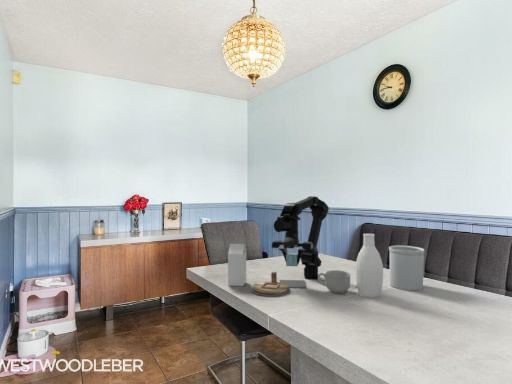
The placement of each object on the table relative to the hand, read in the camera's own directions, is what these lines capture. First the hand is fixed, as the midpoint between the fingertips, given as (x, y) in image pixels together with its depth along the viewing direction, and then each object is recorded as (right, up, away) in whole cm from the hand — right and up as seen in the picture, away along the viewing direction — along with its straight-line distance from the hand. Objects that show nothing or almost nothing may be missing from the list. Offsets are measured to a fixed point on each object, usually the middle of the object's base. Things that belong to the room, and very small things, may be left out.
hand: (292, 263), depth 152 cm
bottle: (+31, -10, -16) cm, 36 cm away
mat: (0, -10, 0) cm, 10 cm away
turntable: (-11, -10, -9) cm, 17 cm away
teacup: (+17, -10, -11) cm, 23 cm away
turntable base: (-11, -10, -9) cm, 17 cm away
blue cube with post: (0, -1, -1) cm, 2 cm away
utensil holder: (+52, -10, -5) cm, 53 cm away
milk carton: (-26, -10, +1) cm, 28 cm away
